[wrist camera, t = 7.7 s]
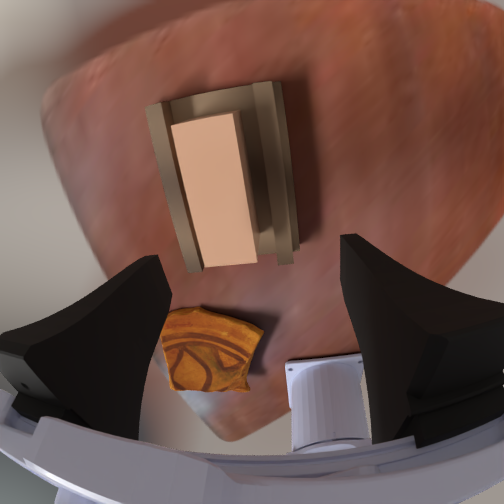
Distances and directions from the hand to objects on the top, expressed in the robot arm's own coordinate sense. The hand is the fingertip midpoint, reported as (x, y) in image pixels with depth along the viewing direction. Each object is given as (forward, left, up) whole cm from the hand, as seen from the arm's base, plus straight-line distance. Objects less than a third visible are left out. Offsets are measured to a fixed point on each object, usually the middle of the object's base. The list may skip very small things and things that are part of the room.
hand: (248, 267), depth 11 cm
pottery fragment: (-14, +6, -9) cm, 18 cm away
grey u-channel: (+1, +2, -9) cm, 9 cm away
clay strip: (+2, +2, -8) cm, 8 cm away
